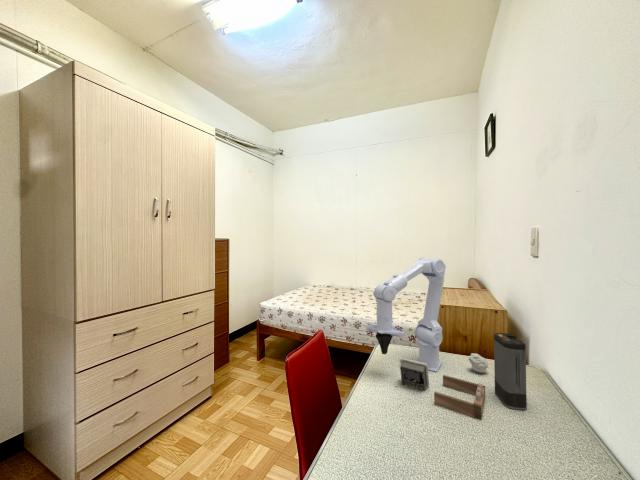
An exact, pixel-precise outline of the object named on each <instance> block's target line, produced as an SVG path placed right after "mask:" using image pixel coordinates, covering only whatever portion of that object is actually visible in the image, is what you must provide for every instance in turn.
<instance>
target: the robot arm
mask: <svg viewBox="0 0 640 480" xmlns="http://www.w3.org/2000/svg"><path fill="white" fill-rule="evenodd" d="M446 267H447V265H446V264H445V262H444V260H443V259H441V258H430V257H419V258H418V259H417V260H415V262H414V264H413V265H411V266H410V267H408V268H407V270H406V271H404V272H403V273H401V274H400V273H395V274H393V275H392V277H391V278H390V279H388V280H387V281H386V280H385V281H384V282H383V284H382V283H380V284H377V286H376V287H375V288H374V291H373V293H372V295H373V296H374V298H375V302H376V325H374V324H367V325H365V331H366V332H373V333H374V332H375V333H376V334H375V338H376V340H377V342H378V345H379V346H380V347H379V348H380V352H381V355H387V354H388V351H389V346H390V344H391V341H392V339H393V337H396V338H400V339H404V338H405V331H402V330H399V329H396V328H393V301H394V300H395V299H396V296H397V294H398V293H399V292H401V291H403V289H405V288H406V287H407V286H408V282H409V281H411V280H413V279H414V278H415V277H417V276H418V275H423V276H424V277H425V278H426V279H427V280H428V282H429V283H428V288H427V292H426V293H427V294H426V300H425V305H424V312H423V317H422V319H420V320H418V321H417V325H416V327H415V329H414V336H415V338H416V339H417V342H418V362H423V363H426V364H427V365H428V371H432V372H436V373H437V372H438V370H439V369H440V366H441V365H442V361H440V345H441V344H442V342H443V327H442V326H441V325H440V323H439V322H438V321H439V315H440V314H439V312H440V307H441V301H442V293H443V288H444V282H445V273H446Z"/></svg>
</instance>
